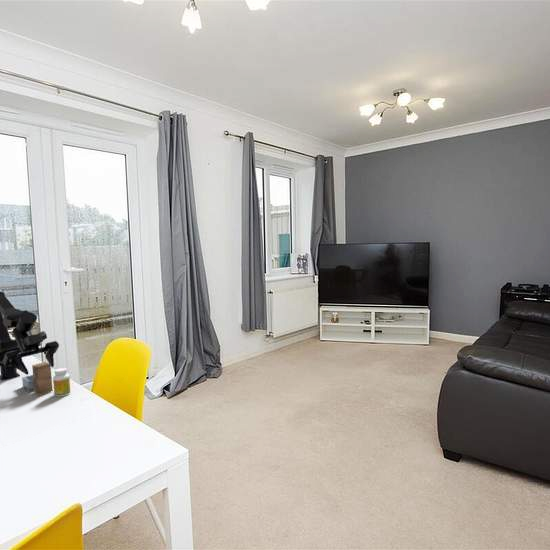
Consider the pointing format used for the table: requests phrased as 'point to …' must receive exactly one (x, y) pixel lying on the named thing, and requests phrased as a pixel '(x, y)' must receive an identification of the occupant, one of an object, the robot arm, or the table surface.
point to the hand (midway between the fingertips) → (40, 370)
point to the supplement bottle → (61, 382)
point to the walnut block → (42, 378)
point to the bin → (28, 383)
